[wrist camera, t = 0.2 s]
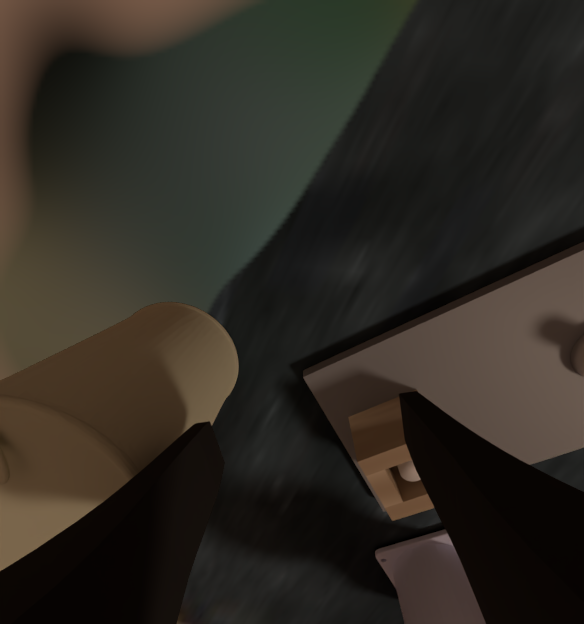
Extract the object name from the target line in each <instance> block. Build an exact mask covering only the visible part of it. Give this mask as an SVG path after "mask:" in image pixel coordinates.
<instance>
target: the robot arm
mask: <svg viewBox="0 0 584 624" xmlns="http://www.w3.org/2000/svg"><path fill="white" fill-rule="evenodd" d="M399 399H400V407H401V415H402V423H403V431H404V438H405V442H406V445H407V448H408V451H409V453H410V456H411V459H412V461H413V464H414V467H415V469H416V471H417V473H418V475H419V477H420V479H421V481H422V483H423V485H424V488H425V490H426V492H427V494H428V496H429V498H430V500H431V502H432V504H433V506H434V508H435V510H436V512H437V514H438V516H439V518H440V520H441V522H442V524H443V526H444V528H445V529H444V530H441V531H437V532H434V533H430V534H427V535H424V536H420V537H417V538H413V539H410V540H407V541H403V542H400V543H396V544H393V545H390V546H386V547H383V548H379V549H377V550H376V551H375V556H376V559H377V560H378V562H379V563H380V565H381V566H382V568H383V570H384V571H385V573H386V574H387V576H388V577H389V579H390V580H391V582H392V583H393V585H394V587H395V588H396V590H397V594H398V598H399V602H400V607H401V611H402V615H403V619H404V623H405V624H584V492H582V491H580V490H578V489H576V488H574V487H572V486H570V485H568V484H565V483H563V482H561V481H559V480H557V479H555V478H553V477H551V476H549V475H547V474H545V473H543V472H541V471H540V470H538V469H536V468H534V467H532V466H530V465H529V464H527V463H525V462H523V461H521V460H519V459H517V458H516V457H514V456H512V455H510V454H509V453H507V452H505V451H503V450H502V449H500V448H498V447H497V446H495V445H493V444H492V443H490V442H489V441H487V440H485V439H484V438H482V437H480V436H479V435H477V434H476V433H474V432H473V431H471V430H470V429H468V428H467V427H465V426H464V425H463V424H461V423H460V422H458V421H457V420H455V419H454V418H452V417H451V416H450V415H448V414H447V413H445V412H444V411H443V410H441V409H440V408H439V407H437V406H436V405H435V404H433V403H432V402H431V401H429V400H428V399H427V398H425V397H424V396H423V395H421V394H420V393H419V392H417V391H413V392H406V393H399ZM224 464H225V462H224V459H223V457H222V454H221V451H220V448H219V445H218V443H217V440H216V437H215V434H214V431H213V429H212V426H211V423H210V421H208V422H201V423H195V424H194V425H193V426H191V427H190V428H189V429H188V430H186V431H185V432H184V433H183V434H182V435H181V436H180V437H178V438H177V439H176V440H175V441H174V442H173V443H172V444H171V445H169V446H168V447H167V448H166V449H165V450H164V451H163V452H162V453H161V454H159V455H158V456H157V457H156V458H155V459H154V460H153V461H152V462H151V463H149V464H148V465H147V466H146V467H145V468H144V469H142V470H141V471H140V472H139V473H138V474H136V475H135V476H134V477H133V478H132V479H131V480H129V481H128V482H127V483H126V484H125V485H123V486H122V487H121V488H120V489H119V490H117V491H116V492H115V493H114V494H112V495H111V496H110V497H109V498H107V499H106V500H105V501H104V502H102V503H101V504H100V505H98V506H97V507H96V508H94V509H93V510H92V511H90V512H89V513H87V514H86V515H85V516H83V517H82V518H81V519H79V520H78V521H76V522H75V523H74V524H72V525H71V526H69V527H68V528H66V529H65V530H63V531H62V532H60V533H59V534H57V535H56V536H54V537H53V538H51V539H50V540H48V541H47V542H45V543H44V544H43V545H41V546H40V547H38V548H37V549H35V550H33V551H32V552H30V553H29V554H27V555H26V556H24V557H22V558H21V559H19V560H18V561H16V562H14V563H13V564H11V565H10V566H8V567H6V568H5V569H3V570H1V571H0V624H176V623H177V619H178V615H179V612H180V608H181V604H182V600H183V597H184V593H185V589H186V585H187V582H188V578H189V575H190V572H191V569H192V566H193V563H194V560H195V557H196V554H197V551H198V548H199V546H200V543H201V540H202V537H203V534H204V531H205V529H206V526H207V523H208V520H209V517H210V515H211V512H212V509H213V506H214V503H215V500H216V497H217V494H218V491H219V487H220V483H221V479H222V474H223V469H224Z"/></svg>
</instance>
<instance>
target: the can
mask: <svg viewBox="0 0 584 624" xmlns="http://www.w3.org/2000/svg"><path fill="white" fill-rule="evenodd" d="M238 369H239V364H238V356H237V352H236V348H235V346H234V343H233V341H232V339H231V338H230V336H229V334H228V333H227V331H226V330H225V329H224V328H223V326H222V325H221V324H220V323H219V322H218V321H217V320H215V319H214V318H213V317H212V316H210V315H209V314H207V313H206V312H204V311H202V310H200V309H198V308H196V307H194V306H190V305H187V304H183V303H177V302H162V303H156V304H152V305H149V306H146V307H144V308H142V309H140V310H139V311H137V312H136V313H134V314H133V315H132V316H131V317H129V318H127V319H125V320H124V321H121V322H120V323H117V324H116V325H114V326H112V327H110V328H108V329H106V330H104V331H102V332H100V333H97V334H95V335H93V336H91V337H89V338H87V339H85V340H83V341H81V342H79V343H77V344H75V345H73V346H71V347H69V348H67V349H65V350H63V351H61V352H59V353H57V354H55V355H53V356H50V357H48V358H46V359H44V360H42V361H40V362H38V363H36V364H34V365H32V366H30V367H28V368H26V369H24V370H22V371H20V372H17V373H15V374H13V375H11V376H9V377H7V378H5V379H2V380H0V571H1V570H3V569H5V568H6V567H8V566H10V565H11V564H13V563H14V562H16V561H18V560H19V559H21V558H22V557H24V556H26V555H27V554H29V553H30V552H32V551H33V550H35V549H37V548H38V547H40V546H41V545H43V544H44V543H45V542H47V541H48V540H50V539H51V538H53V537H54V536H56V535H57V534H59V533H60V532H62V531H63V530H65V529H66V528H68V527H69V526H71V525H72V524H74V523H75V522H76V521H78V520H79V519H81V518H82V517H83V516H85V515H86V514H87V513H89V512H90V511H92V510H93V509H94V508H96V507H97V506H98V505H100V504H101V503H102V502H104V501H105V500H106V499H107V498H109V497H110V496H111V495H112V494H114V493H115V492H116V491H117V490H119V489H120V488H121V487H122V486H123V485H125V484H126V483H127V482H128V481H129V480H131V479H132V478H133V477H134V476H135V475H136V474H138V473H139V472H140V471H141V470H142V469H144V468H145V467H146V466H147V465H148V464H149V463H151V462H152V461H153V460H154V459H155V458H156V457H157V456H158V455H159V454H161V453H162V452H163V451H164V450H165V449H166V448H167V447H168V446H169V445H171V444H172V443H173V442H174V441H175V440H176V439H177V438H178V437H180V436H181V435H182V434H183V433H184V432H185V431H186V430H188V429H189V428H190V427H191V426H193V425H194V424H195V423H201V422H208V421H210V423H211V426H212V424H213V422H214V420H215V418H216V416H217V414H218V412H219V410H220V408H221V406H222V404H223V403H224V401H225V399H226V398H227V397H228V396H229V394H230V393H231V391H232V390H233V388H234V385H235V383H236V380H237V376H238Z"/></svg>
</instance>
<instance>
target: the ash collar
mask: <svg viewBox="0 0 584 624" xmlns="http://www.w3.org/2000/svg"><path fill="white" fill-rule="evenodd" d="M414 391H417V389H416V390H414ZM412 392H413V391H412ZM417 392H418V391H417ZM348 418H349V423H350V428H351V433H352V438H353V443H354V448H355V453H356V458H357V462H358V464H359V466H360V467H361V469H362V471H363V472H364V474H365V476H366V477H367V479H368V481H369V482H370V484H371V486H372V487H373V489H374V491H375V492H376V494H377V496H378V497H379V499H380V501H381V502H382V504H383V506H384V508H385V509H386V511H387V513H388V514H389V516H390V518H391V519H392V521H394V520H397V519H400V518H403V517H406V516H410V515H413V514H416V513H419V512H422V511H426V510H429V509H432V508H434V506H433V504H432V502H431V500H430V498H429V496H428V494H427V492H426V490H425V488H424V485H423V483H422V481H421V480H419V481H414V482H411V481H407V480H405V479H403V478H402V477H401V475H400V472H399V470H398V467H397V465H399V464H402V463H405V462H408V461H411V460H412V459H411V456H410V453H409V451H408V448H407V445H406V442H405V438H404V431H403V423H402V415H401V407H400V399H399V397H397V398H394V399H392V400H389V401H387V402H384V403H382V404H379V405H377V406H375V407H372V408H370V409H367V410H365V411H362V412H360V413H357V414H355V415H352V416H350V417H348Z"/></svg>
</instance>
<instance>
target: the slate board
mask: <svg viewBox="0 0 584 624" xmlns="http://www.w3.org/2000/svg"><path fill="white" fill-rule="evenodd" d="M303 378H304V380H305V381H306V383H307V385H308V386H309V388H310V390H311V391H312V393H313V395H314V396H315V398H316V400H317V401H318V403H319V405H320V406H321V408H322V410H323V411H324V413H325V415H326V416H327V418H328V420H329V421H330V423H331V425H332V426H333V428H334V430H335V431H336V433H337V435H338V436H339V438H340V440H341V441H342V443H343V445H344V446H345V448H346V450H347V451H348V453H349V455H350V456H351V458H352V460H353V461H354V463H355V465H356V466H357V468H358V470H359V471H360V473H361V475H362V476H363V478H364V480H365V481H366V483H367V485H368V486H369V488H370V490H371V491H372V493H373V495H374V496H375V498H376V500H377V501H378V503H379V505H380V506H381V508H382V510H383V511H386V509H385V508H384V506H383V504H382V502H381V501H380V499H379V497H378V496H377V494H376V492H375V491H374V489H373V487H372V486H371V484H370V482H369V481H368V479H367V477H366V476H365V474H364V472H363V471H362V469H361V467H360V466H359V464H358V462H357V458H356V453H355V448H354V443H353V438H352V433H351V428H350V423H349V418H348V417H350V416H352V415H355V414H357V413H360V412H362V411H365V410H367V409H370V408H372V407H375V406H377V405H379V404H382V403H384V402H387V401H389V400H392V399H394V398H397V397H399V393H406V392H412V391H414V390H416V389H417V391H418V392H419V393H420V394H421V395H423V396H424V397H425V398H427V399H428V400H429V401H431V402H432V403H433V404H435V405H436V406H437V407H439V408H440V409H441V410H443V411H444V412H445V413H447V414H448V415H450V416H451V417H452V418H454V419H455V420H457V421H458V422H460V423H461V424H463V425H464V426H465V427H467V428H468V429H470V430H471V431H473V432H474V433H476V434H477V435H479V436H480V437H482V438H484V439H485V440H487V441H489V442H490V443H492V444H493V445H495V446H497V447H498V448H500V449H502V450H503V451H505V452H507V453H509V454H510V455H512V456H514V457H516V458H517V459H519V460H521V461H523V462H525V463H527V464H529V465H531V464H534V463H537V462H540V461H543V460H546V459H549V458H552V457H556V456H559V455H562V454H565V453H568V452H571V451H574V450H577V449H580V448H584V242H581V243H579V244H577V245H575V246H573V247H571V248H568V249H566V250H564V251H562V252H560V253H558V254H555V255H553V256H551V257H549V258H547V259H544V260H542V261H540V262H538V263H536V264H534V265H531V266H529V267H527V268H525V269H523V270H521V271H518V272H516V273H514V274H512V275H510V276H507V277H505V278H503V279H501V280H499V281H497V282H494V283H492V284H490V285H488V286H486V287H483V288H481V289H479V290H477V291H475V292H473V293H470V294H468V295H466V296H464V297H462V298H460V299H457V300H455V301H453V302H451V303H449V304H446V305H444V306H442V307H440V308H438V309H436V310H433V311H431V312H429V313H427V314H425V315H422V316H420V317H418V318H416V319H414V320H412V321H409V322H407V323H405V324H403V325H401V326H399V327H396V328H394V329H392V330H390V331H388V332H385V333H383V334H381V335H379V336H377V337H375V338H372V339H370V340H368V341H366V342H364V343H362V344H359V345H357V346H355V347H353V348H351V349H348V350H346V351H344V352H342V353H340V354H338V355H335V356H333V357H331V358H329V359H327V360H324V361H322V362H320V363H318V364H316V365H314V366H311V367H309V368H307V369H305V370H303ZM397 467H398V470H399V472H400V475H401V477H402V478H403V479H405V480H407V481H411V482H414V481H419V480H421V479H420V477H419V475H418V473H417V471H416V469H415V467H414V464H413V461H412V460H411V461H408V462H405V463H402V464H399V465H397Z"/></svg>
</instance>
